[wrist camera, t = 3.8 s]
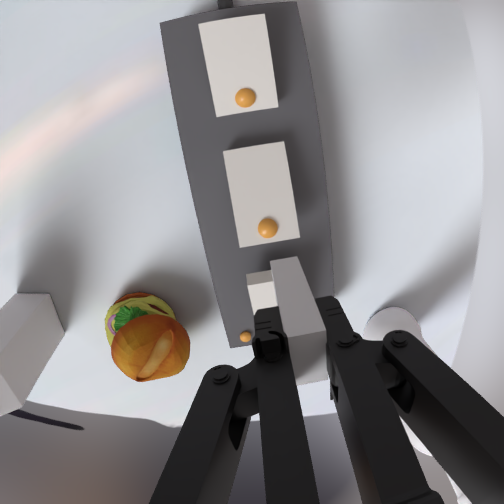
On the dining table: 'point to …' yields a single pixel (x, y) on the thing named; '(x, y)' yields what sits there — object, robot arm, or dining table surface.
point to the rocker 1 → (239, 64)
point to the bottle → (405, 321)
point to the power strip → (245, 135)
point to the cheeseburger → (146, 337)
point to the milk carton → (25, 345)
